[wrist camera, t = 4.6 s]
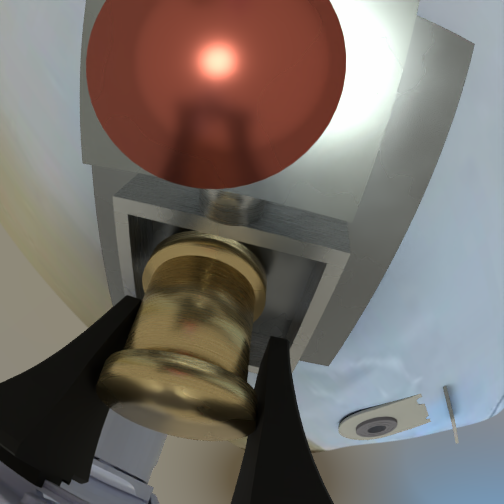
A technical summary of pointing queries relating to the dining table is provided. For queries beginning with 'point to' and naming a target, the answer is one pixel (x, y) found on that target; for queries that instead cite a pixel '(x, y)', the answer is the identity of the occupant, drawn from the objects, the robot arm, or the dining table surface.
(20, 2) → the dining table surface
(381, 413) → the bracket
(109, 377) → the brass spool
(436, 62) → the valve base
